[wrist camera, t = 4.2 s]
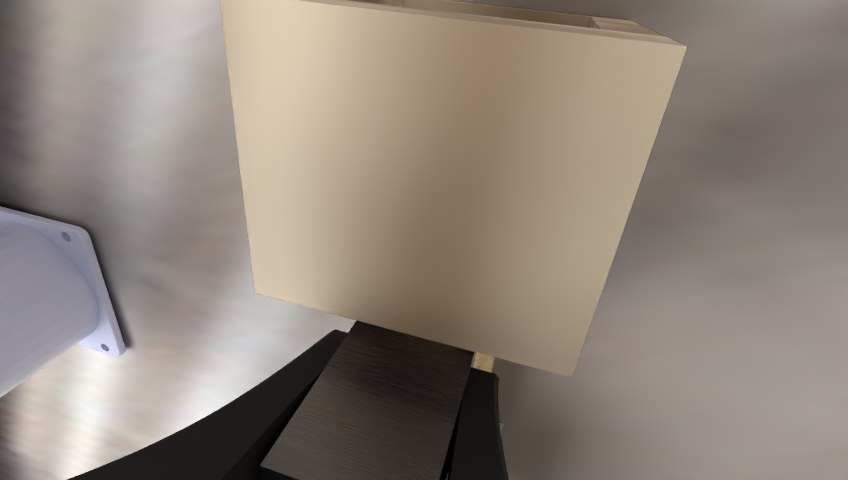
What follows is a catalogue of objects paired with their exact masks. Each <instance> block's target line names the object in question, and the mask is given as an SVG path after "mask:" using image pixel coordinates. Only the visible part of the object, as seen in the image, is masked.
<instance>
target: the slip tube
mask: <svg viewBox="0 0 848 480" xmlns="http://www.w3.org/2000/svg"><path fill="white" fill-rule="evenodd" d="M494 359H495V357H492V356H488V355H485V354H481V353H477V352H473V351H470V350H466V349H462V348H458V347H455V346H451V345H447V344H443V343H440V342H436V341H432V340H428V339H425V338H421V337H417V336H413V335H410V334H406V333H402V332H398V331H395V330H391V329H387V328H383V327H380V326H376V325H372V324H368V323H365V322H361V321H356V322H355V324H354V325H353V327H352V328H351V330H350V331H349V333H348V334H347V336H346V337H345V339H344V340H343V342H342V343H341V345H340V346H339V348H338V349H337V351H336V352H335V354H334V355H333V357H332V358H331V360H330V361H329V363H328V364H327V366H326V367H325V369H324V370H323V372H322V373H321V375H320V376H319V378H318V379H317V381H316V382H315V384H314V385H313V387H312V388H311V390H310V391H309V393H308V394H307V396H306V397H305V399H304V400H303V402H302V403H301V405H300V406H299V408H298V409H297V411H296V412H295V414H294V415H293V417H292V418H291V420H290V421H289V423H288V424H287V426H286V427H285V429H284V430H283V432H282V433H281V435H280V436H279V438H278V439H277V441H276V442H275V444H274V445H273V447H272V448H271V450H270V451H269V453H268V454H267V456H266V457H265V459H264V460H263V462H262V463H261V465H260V470H261V477H262V480H447V478H448V472H449V466H450V461H451V456H452V450H453V445H454V440H455V435H456V429H457V424H458V419H459V413H460V408H461V403H462V398H463V393H464V390H465V386H466V383H467V380H468V377H469V373H470V370H471V367H473V368H476V369H480V370H484V371H487V372H492V368H493V363H494Z"/></svg>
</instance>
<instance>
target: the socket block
mask: <svg viewBox="0 0 848 480" xmlns="http://www.w3.org/2000/svg"><path fill="white" fill-rule="evenodd" d="M220 7H221V16H222V24H223V32H224V41H225V49H226V57H227V65H228V74H229V82H230V90H231V99H232V107H233V115H234V123H235V132H236V140H237V148H238V157H239V165H240V173H241V182H242V190H243V198H244V206H245V215H246V223H247V231H248V240H249V248H250V256H251V264H252V273H253V281H254V289H255V293H256V294H260V295H264V296H267V297H271V298H275V299H279V300H282V301H286V302H290V303H294V304H297V305H301V306H305V307H309V308H312V309H316V310H320V311H324V312H327V313H331V314H335V315H339V316H342V317H346V318H350V319H354V320H357V321H361V322H365V323H368V324H372V325H376V326H380V327H383V328H387V329H391V330H395V331H398V332H402V333H406V334H410V335H413V336H417V337H421V338H425V339H428V340H432V341H436V342H440V343H443V344H447V345H451V346H455V347H458V348H462V349H466V350H470V351H473V352H477V353H481V354H485V355H488V356H492V357H496V358H500V359H503V360H507V361H511V362H514V363H518V364H522V365H526V366H529V367H533V368H537V369H541V370H544V371H548V372H552V373H556V374H559V375H563V376H567V377H571V378H572V376H573V373H574V370H575V368H576V365H577V362H578V359H579V356H580V353H581V350H582V348H583V345H584V342H585V339H586V336H587V333H588V330H589V328H590V325H591V322H592V319H593V316H594V313H595V310H596V307H597V305H598V302H599V299H600V296H601V293H602V290H603V287H604V285H605V282H606V279H607V276H608V273H609V270H610V267H611V265H612V262H613V259H614V256H615V253H616V250H617V247H618V245H619V242H620V239H621V236H622V233H623V230H624V227H625V224H626V222H627V219H628V216H629V213H630V210H631V207H632V204H633V202H634V199H635V196H636V193H637V190H638V187H639V184H640V182H641V179H642V176H643V173H644V170H645V167H646V164H647V161H648V159H649V156H650V153H651V150H652V147H653V144H654V141H655V139H656V136H657V133H658V130H659V127H660V124H661V121H662V119H663V116H664V113H665V110H666V107H667V104H668V101H669V98H670V96H671V93H672V90H673V87H674V84H675V81H676V78H677V76H678V73H679V70H680V67H681V64H682V61H683V58H684V56H685V53H686V50H687V47H688V46H686V45H683V44H681V43H679V42H677V41H674V40H672V39H670V38H668V37H666V36H663V35H661V34H659V33H657V32H655V31H652V30H650V29H648V28H646V27H644V26H641V25H639V24H637V23H635V22H633V21H630V20H621V19H612V18H603V17H594V16H585V15H576V14H567V13H558V12H549V11H539V10H530V9H521V8H512V7H503V6H494V5H485V4H476V3H467V2H457V1H448V0H220Z"/></svg>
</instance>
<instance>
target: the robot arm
mask: <svg viewBox="0 0 848 480" xmlns="http://www.w3.org/2000/svg"><path fill="white" fill-rule="evenodd" d="M347 334H348V333H346V332H342V331H339V330H333V331H331V332H330V333H329V334H327V335H326V336H325V337H323V338H322V339H321V340H319V341H318V342H317V343H315V344H314V345H313V346H311V347H310V348H309V349H307V350H306V351H305V352H303V353H302V354H301V355H299V356H298V357H297V358H295V359H294V360H293V361H291V362H290V363H289V364H287V365H286V366H284V367H283V368H281V369H280V370H279V371H277V372H276V373H274V374H273V375H272V376H270V377H269V378H267V379H266V380H264V381H263V382H261V383H260V384H258V385H257V386H255V387H254V388H252V389H251V390H249V391H247V392H246V393H244V394H243V395H241V396H240V397H238V398H237V399H235V400H233V401H232V402H230V403H229V404H227V405H225V406H224V407H222V408H220V409H219V410H217V411H215V412H213V413H212V414H210V415H208V416H206V417H204V418H203V419H201V420H199V421H197V422H195V423H194V424H192V425H190V426H188V427H186V428H184V429H182V430H180V431H178V432H176V433H174V434H172V435H170V436H168V437H166V438H164V439H162V440H160V441H158V442H156V443H154V444H151V445H149V446H147V447H145V448H143V449H141V450H139V451H137V452H134V453H132V454H130V455H127V456H125V457H122V458H120V459H118V460H115V461H113V462H110V463H108V464H106V465H103V466H101V467H99V468H96V469H93V470H91V471H88V472H86V473H83V474H81V475H78V476H75V477H73V478H70V479H67V480H262V477H261V470H260V465H261V463H262V462H263V460H264V459H265V457H266V456H267V454H268V453H269V451H270V450H271V448H272V447H273V445H274V444H275V442H276V441H277V439H278V438H279V436H280V435H281V433H282V432H283V430H284V429H285V427H286V426H287V424H288V423H289V421H290V420H291V418H292V417H293V415H294V414H295V412H296V411H297V409H298V408H299V406H300V405H301V403H302V402H303V400H304V399H305V397H306V396H307V394H308V393H309V391H310V390H311V388H312V387H313V385H314V384H315V382H316V381H317V379H318V378H319V376H320V375H321V373H322V372H323V370H324V369H325V367H326V366H327V364H328V363H329V361H330V360H331V358H332V357H333V355H334V354H335V352H336V351H337V349H338V348H339V346H340V345H341V343H342V342H343V340H344V339H345V337H346V336H347ZM76 344H78V345H81V346H85V347H88V348H91V349H94V350H97V351H100V352H103V353H106V354H109V355H113V356H117V357H118V356H121V355H122V354H123V353H124V352H125V351H126V349H125V345H124V342H123V338H122V335H121V332H120V329H119V326H118V323H117V320H116V317H115V313H114V310H113V307H112V304H111V301H110V298H109V295H108V292H107V288H106V285H105V282H104V279H103V276H102V273H101V270H100V266H99V263H98V260H97V257H96V254H95V251H94V248H93V245H92V241H91V238H90V236H89V234H88V233H87V231H86V230H84V229H83V228H81V227H79V226H75V225H71V224H67V223H63V222H59V221H55V220H51V219H47V218H44V217H40V216H36V215H32V214H28V213H24V212H20V211H16V210H12V209H8V208H5V207H1V206H0V398H1V397H2V396H3V395H5V394H6V393H8V392H9V391H11V390H12V389H13V388H15V387H16V386H18V385H19V384H20V383H22V382H23V381H25V380H26V379H28V378H29V377H30V376H32V375H33V374H35V373H36V372H38V371H39V370H40V369H42V368H43V367H45V366H46V365H48V364H49V363H50V362H52V361H53V360H55V359H56V358H57V357H59V356H60V355H62V354H63V353H65V352H66V351H67V350H69V349H70V348H72V347H73V346H75V345H76ZM498 381H499V378H498V377H497V375H496V374H495V373H491V372H487V371H484V370H480V369H476V368H473V367H471V370H470V373H469V377H468V380H467V383H466V386H465V390H464V393H463V398H462V403H461V408H460V413H459V419H458V424H457V429H456V435H455V440H454V445H453V450H452V456H451V461H450V466H449V472H448V478H447V480H509V479H508V474H507V469H506V464H505V458H504V452H503V445H502V439H501V432H500V423H499V412H498Z"/></svg>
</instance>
